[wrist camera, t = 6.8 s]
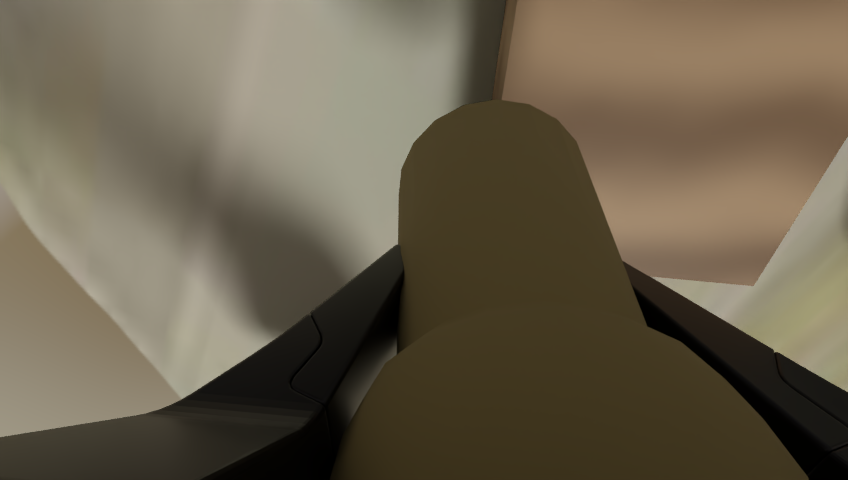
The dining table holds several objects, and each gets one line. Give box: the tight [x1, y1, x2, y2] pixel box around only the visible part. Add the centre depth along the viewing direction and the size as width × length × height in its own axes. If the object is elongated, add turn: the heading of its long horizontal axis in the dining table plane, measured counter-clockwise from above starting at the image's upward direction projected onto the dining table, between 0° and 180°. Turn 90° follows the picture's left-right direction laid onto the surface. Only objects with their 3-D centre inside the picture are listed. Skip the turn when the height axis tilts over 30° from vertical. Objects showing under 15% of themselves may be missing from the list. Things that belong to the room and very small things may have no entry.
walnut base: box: [492, 0, 848, 286], centre depth 18 cm, size 14×14×4 cm
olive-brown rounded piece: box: [330, 99, 809, 480], centre depth 8 cm, size 6×6×11 cm
